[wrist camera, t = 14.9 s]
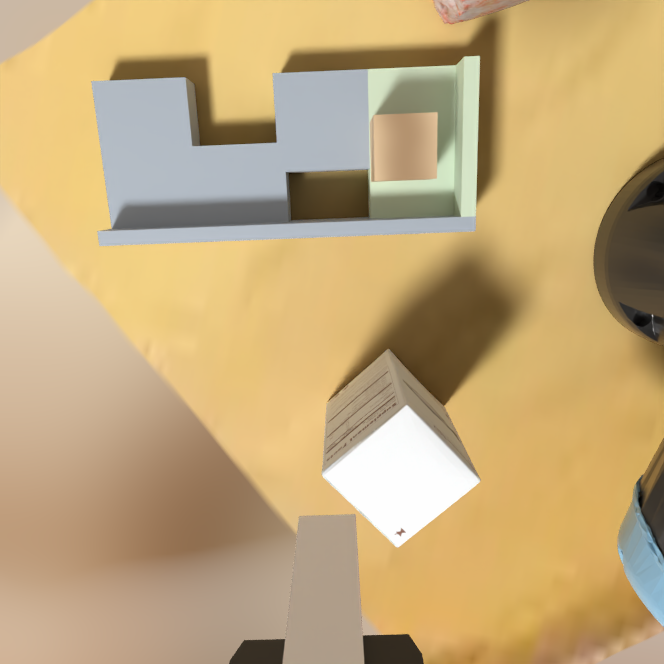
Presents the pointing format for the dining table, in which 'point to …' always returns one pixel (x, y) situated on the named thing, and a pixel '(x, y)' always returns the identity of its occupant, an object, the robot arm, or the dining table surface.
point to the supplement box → (394, 450)
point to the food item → (470, 8)
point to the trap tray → (283, 157)
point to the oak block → (403, 147)
